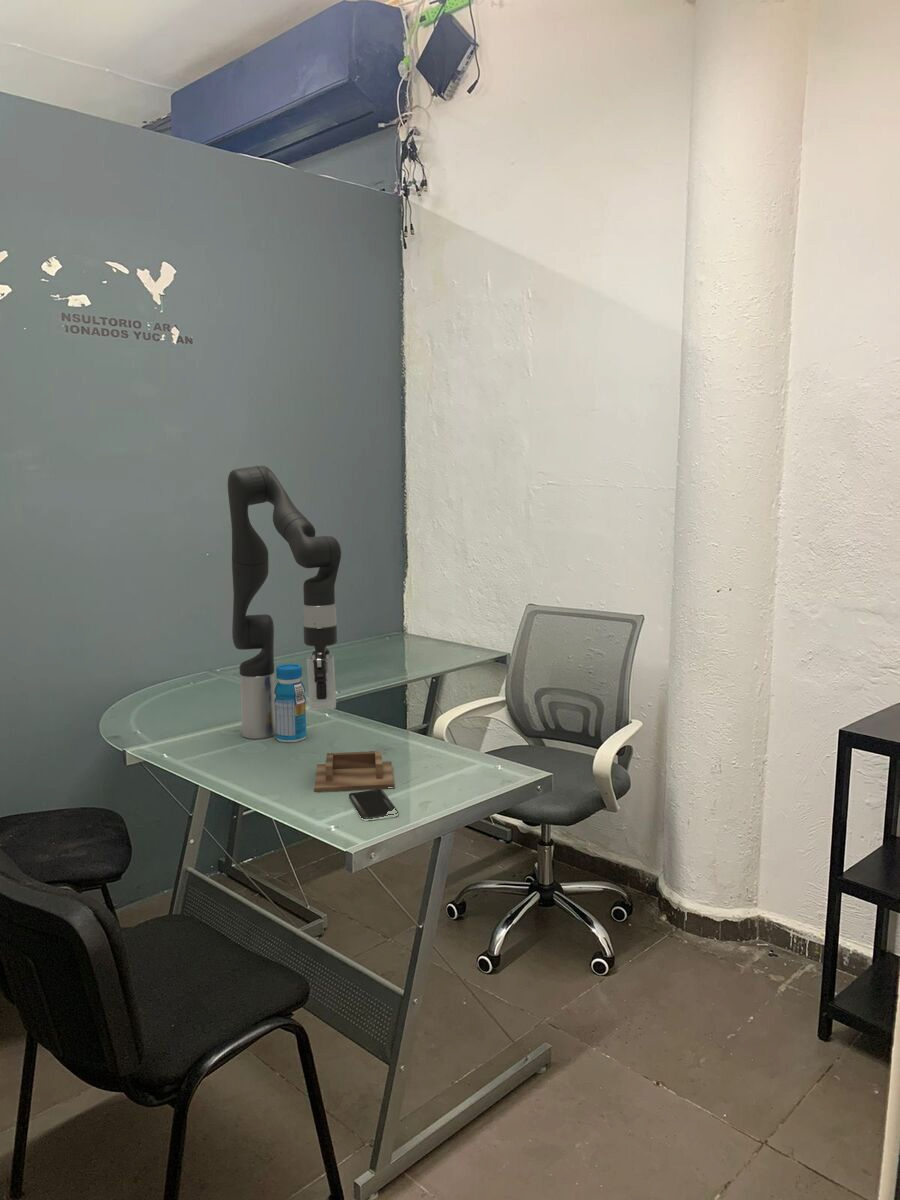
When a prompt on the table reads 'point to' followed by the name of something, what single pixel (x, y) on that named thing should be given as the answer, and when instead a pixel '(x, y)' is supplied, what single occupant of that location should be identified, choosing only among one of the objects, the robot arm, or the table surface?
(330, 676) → the skincare box
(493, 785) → the table surface
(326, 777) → the u rest
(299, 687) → the beverage bottle
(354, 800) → the phone
